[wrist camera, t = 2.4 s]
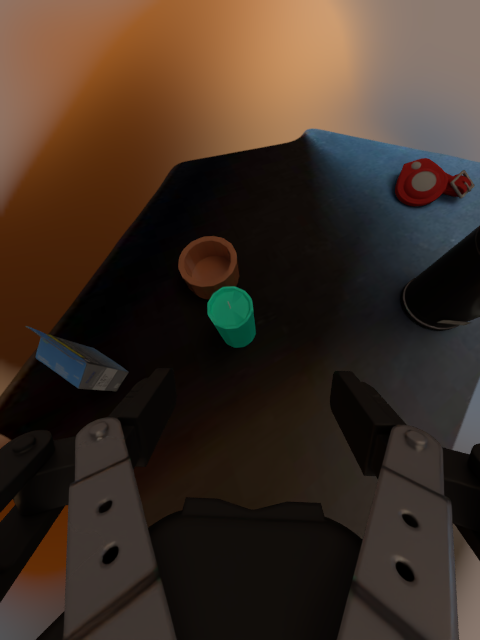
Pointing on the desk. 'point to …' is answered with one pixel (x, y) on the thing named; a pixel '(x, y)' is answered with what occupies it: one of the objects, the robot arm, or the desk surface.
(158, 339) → the desk surface
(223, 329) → the candle
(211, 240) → the holder
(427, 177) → the tracker holder
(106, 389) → the tape cartridge
